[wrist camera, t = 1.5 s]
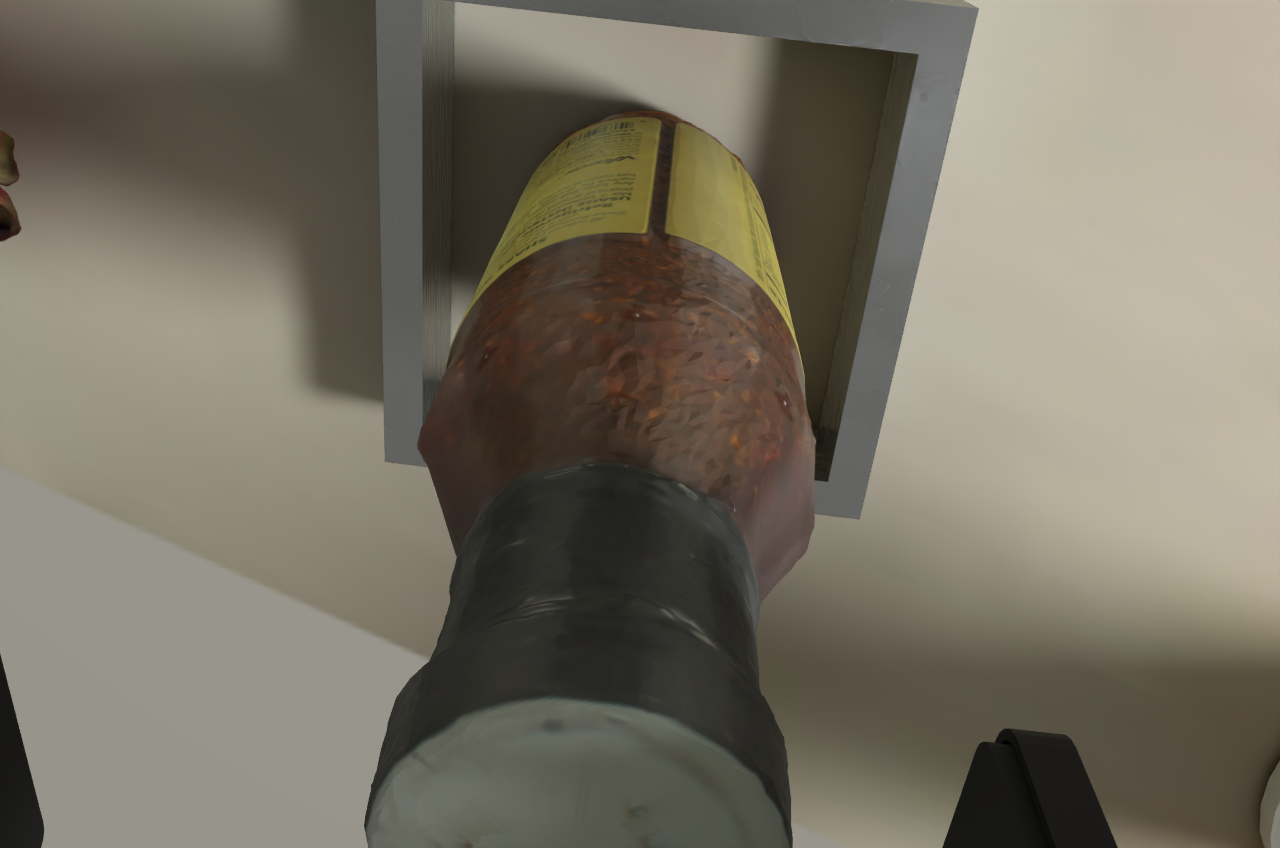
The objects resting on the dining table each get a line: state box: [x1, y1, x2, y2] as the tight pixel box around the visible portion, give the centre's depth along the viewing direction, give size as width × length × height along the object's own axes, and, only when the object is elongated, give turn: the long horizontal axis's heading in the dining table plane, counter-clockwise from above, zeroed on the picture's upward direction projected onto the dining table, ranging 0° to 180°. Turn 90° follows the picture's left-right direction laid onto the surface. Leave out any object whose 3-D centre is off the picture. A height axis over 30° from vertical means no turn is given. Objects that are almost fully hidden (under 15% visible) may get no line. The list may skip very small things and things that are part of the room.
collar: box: [376, 0, 979, 519], centre depth 26 cm, size 12×12×3 cm
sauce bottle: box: [364, 111, 816, 848], centre depth 18 cm, size 7×6×20 cm
